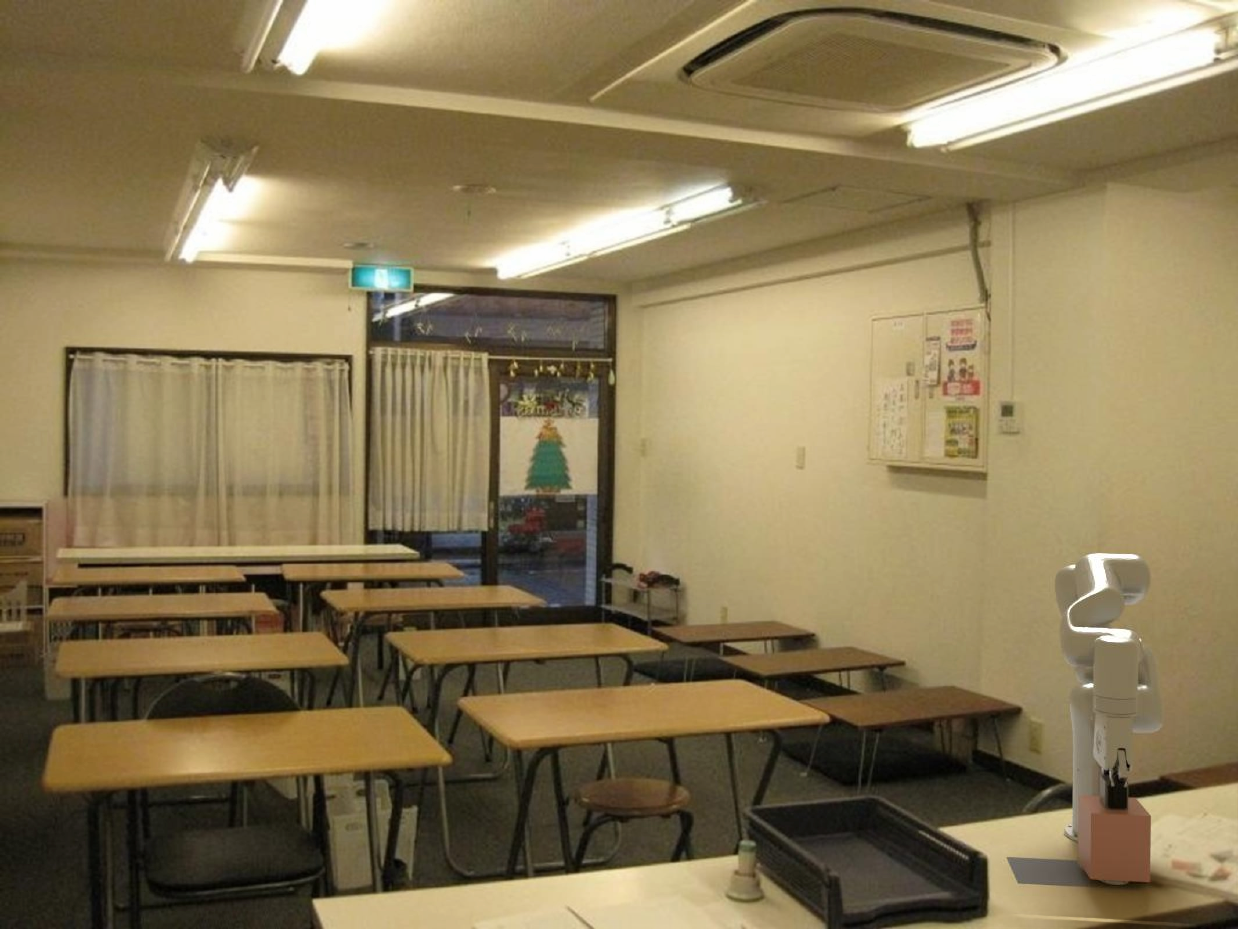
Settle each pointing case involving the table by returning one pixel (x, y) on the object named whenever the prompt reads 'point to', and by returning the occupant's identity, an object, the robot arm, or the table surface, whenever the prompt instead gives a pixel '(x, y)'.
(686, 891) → the table surface
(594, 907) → the table surface
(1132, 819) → the cover
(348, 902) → the table surface
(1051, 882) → the mat
